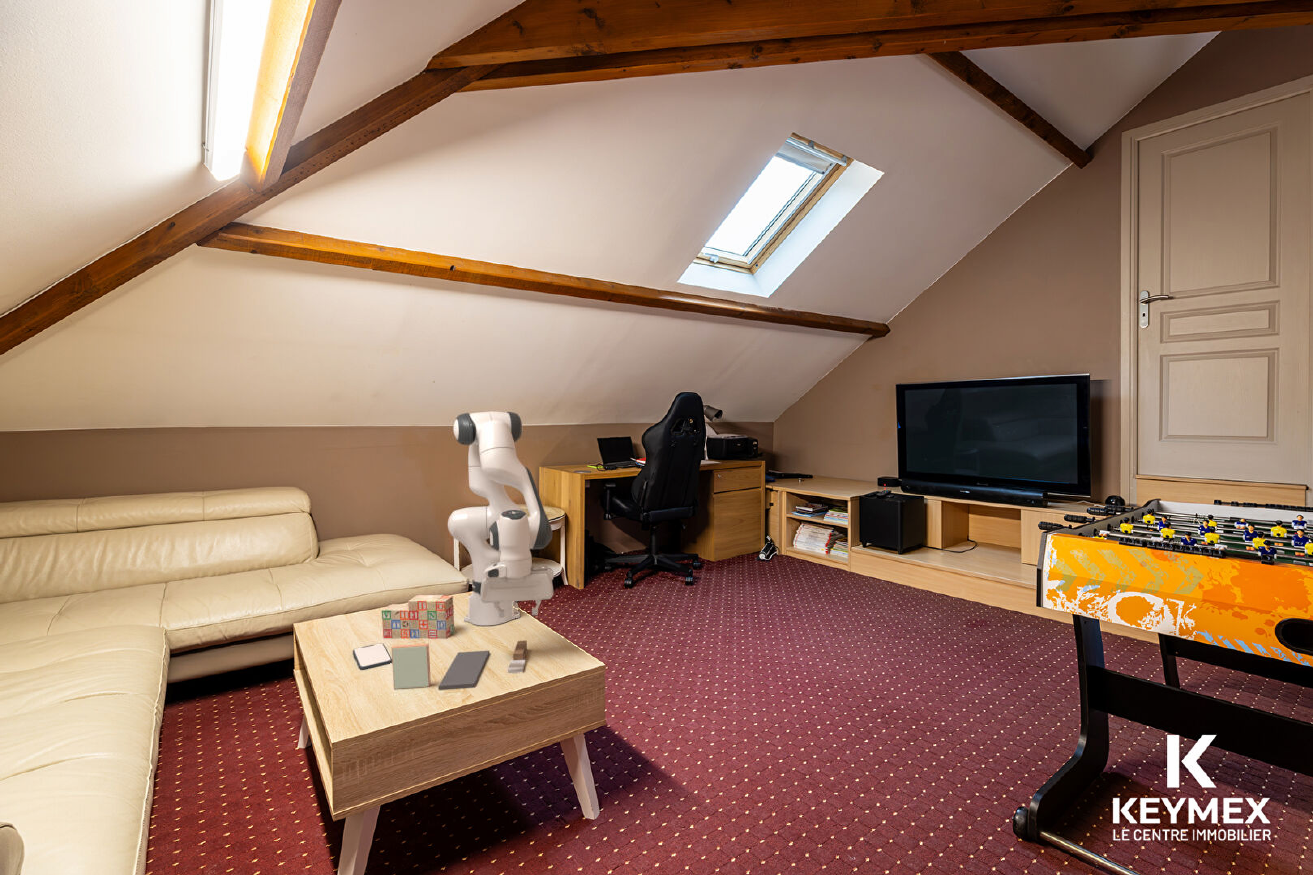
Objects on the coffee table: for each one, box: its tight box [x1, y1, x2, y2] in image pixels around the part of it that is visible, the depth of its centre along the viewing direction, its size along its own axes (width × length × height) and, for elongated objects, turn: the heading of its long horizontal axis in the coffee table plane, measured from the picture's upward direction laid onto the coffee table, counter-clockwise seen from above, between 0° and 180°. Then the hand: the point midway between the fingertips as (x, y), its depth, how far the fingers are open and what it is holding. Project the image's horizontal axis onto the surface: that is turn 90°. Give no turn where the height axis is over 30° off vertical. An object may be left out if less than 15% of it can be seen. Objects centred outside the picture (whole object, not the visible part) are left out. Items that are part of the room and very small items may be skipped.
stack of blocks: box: [381, 594, 455, 640], centre depth 200 cm, size 21×6×12 cm, turn 84°
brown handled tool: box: [507, 640, 528, 674], centre depth 177 cm, size 16×4×3 cm, turn 5°
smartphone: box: [352, 642, 392, 671], centre depth 183 cm, size 9×2×16 cm
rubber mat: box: [438, 649, 490, 691], centre depth 172 cm, size 22×9×1 cm, turn 5°
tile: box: [391, 643, 432, 690], centre depth 162 cm, size 2×9×11 cm, turn 95°
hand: (518, 615), depth 178 cm, fingers open, 8 cm apart
